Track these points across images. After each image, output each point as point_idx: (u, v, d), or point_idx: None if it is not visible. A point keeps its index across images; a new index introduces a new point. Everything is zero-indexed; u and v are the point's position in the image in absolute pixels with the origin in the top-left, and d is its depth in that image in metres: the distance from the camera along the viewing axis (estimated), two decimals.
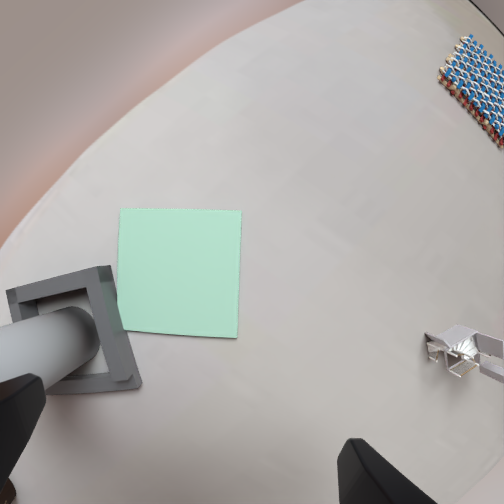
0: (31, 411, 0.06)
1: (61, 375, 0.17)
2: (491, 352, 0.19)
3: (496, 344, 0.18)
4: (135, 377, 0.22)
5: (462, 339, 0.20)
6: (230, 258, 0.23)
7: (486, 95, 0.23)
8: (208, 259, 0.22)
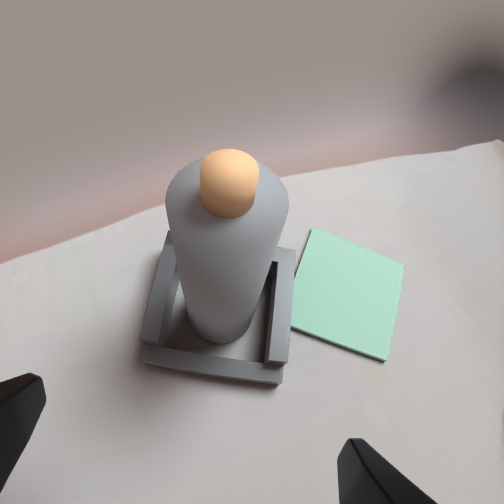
0: (31, 411, 0.06)
1: (246, 310, 0.17)
2: None
3: None
4: (282, 372, 0.20)
5: None
6: (393, 294, 0.25)
7: None
8: (377, 289, 0.25)
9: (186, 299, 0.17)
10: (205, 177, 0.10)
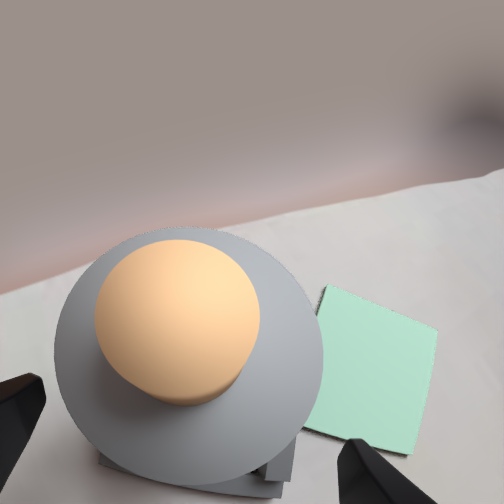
0: (31, 411, 0.06)
1: None
2: None
3: None
4: (281, 484, 0.13)
5: None
6: (424, 371, 0.18)
7: None
8: (406, 366, 0.18)
9: None
10: (106, 342, 0.03)
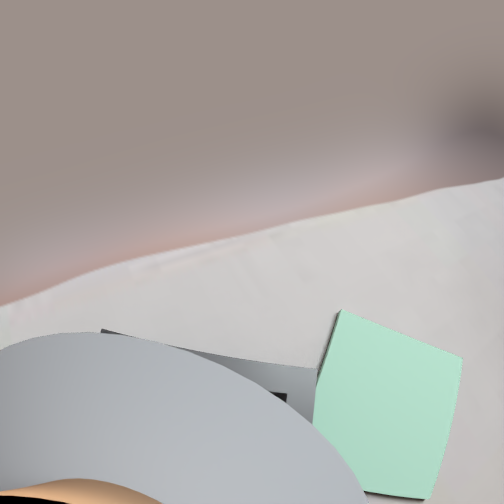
0: None
1: None
2: None
3: None
4: None
5: None
6: (447, 407, 0.14)
7: None
8: (428, 403, 0.14)
9: None
10: None
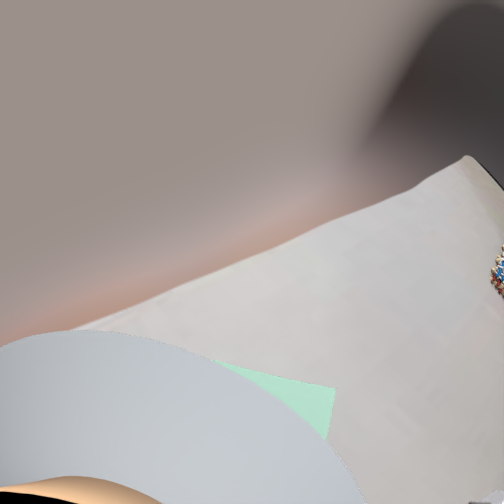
0: None
1: None
2: None
3: None
4: None
5: None
6: (319, 431, 0.19)
7: None
8: None
9: None
10: None
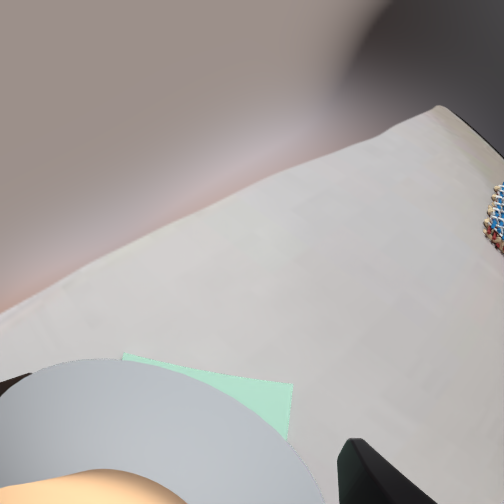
0: None
1: None
2: None
3: None
4: None
5: None
6: None
7: None
8: None
9: None
10: None
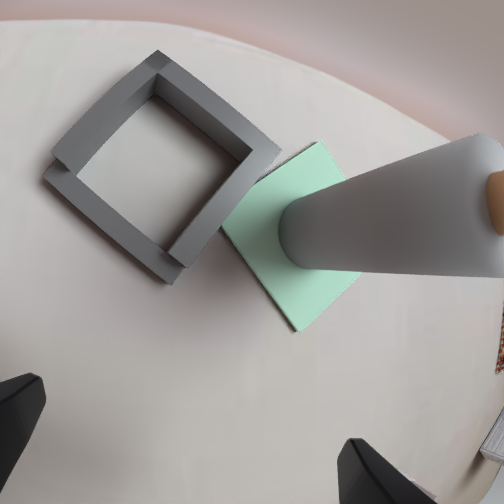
0: (31, 411, 0.06)
1: (365, 271, 0.14)
2: None
3: None
4: (179, 273, 0.17)
5: None
6: None
7: None
8: None
9: (327, 210, 0.14)
10: None
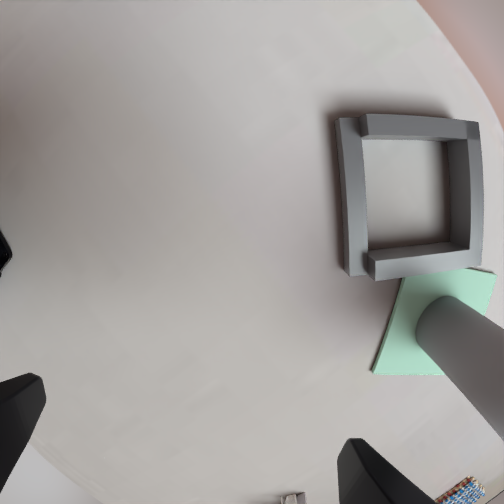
0: (31, 411, 0.06)
1: (456, 385, 0.15)
2: None
3: None
4: (360, 273, 0.19)
5: None
6: (434, 368, 0.21)
7: None
8: None
9: (477, 333, 0.15)
10: None
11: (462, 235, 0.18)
